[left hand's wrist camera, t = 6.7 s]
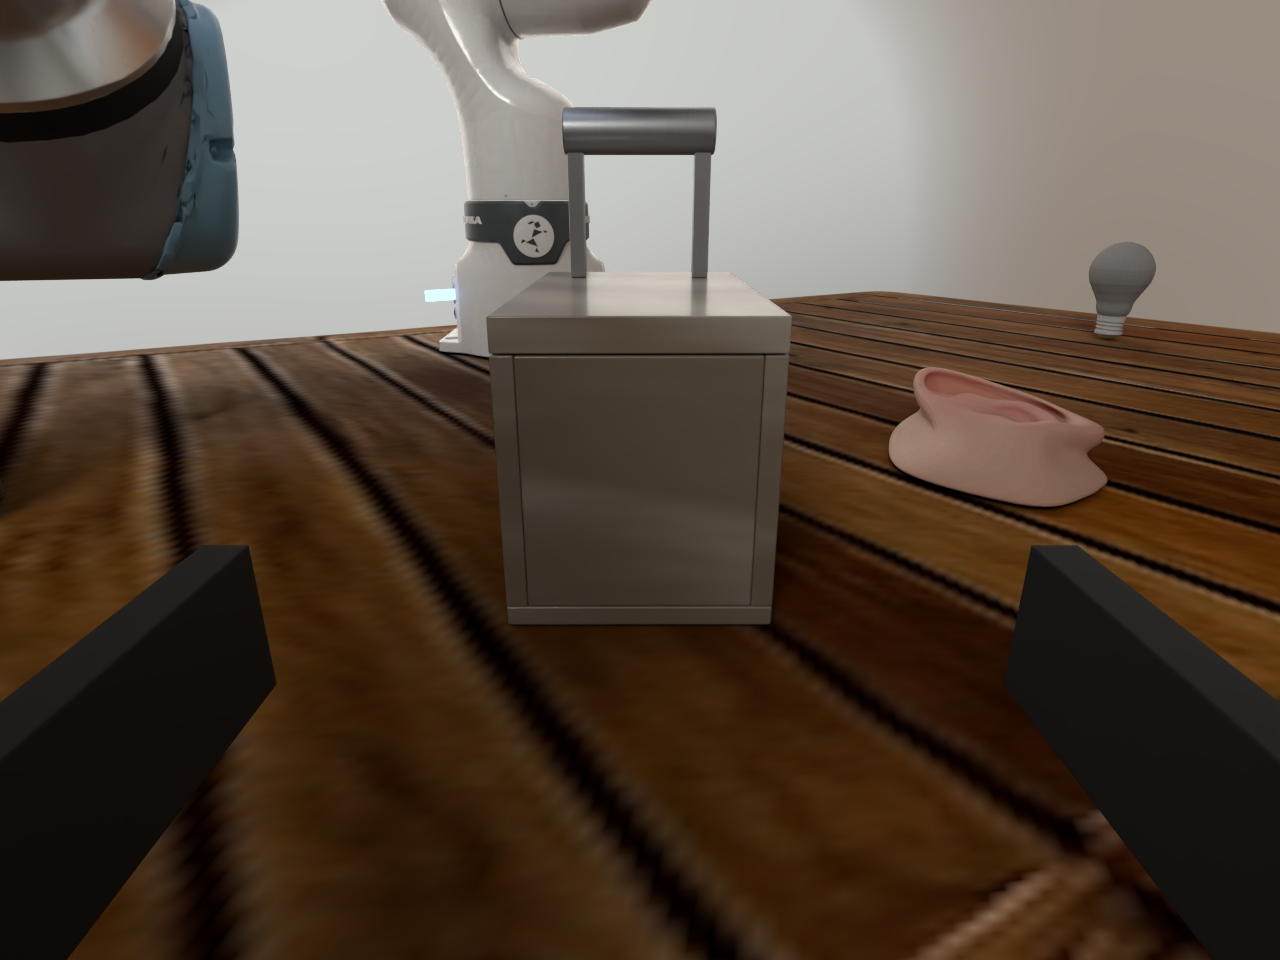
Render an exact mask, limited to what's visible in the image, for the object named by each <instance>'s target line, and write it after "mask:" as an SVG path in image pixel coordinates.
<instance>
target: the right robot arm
mask: <svg viewBox="0 0 1280 960" xmlns="http://www.w3.org/2000/svg"><path fill="white" fill-rule="evenodd" d="M380 1H381V2H382V4H383V6H384V8H385V9H386V11H387V12H388V14H389V15H390V16H391V18H392V19H393V20H394V21H395V22H396V23H397V24H398V25H399V26H400V27H401V28H402V29H403V30H404V31H405V32H407V33H408V34H409V35H411V36H412V37H413V38H414V39H415V40H416V41H417V42H418V43H420V45H421V46H422V47H423V48H424V49H425V50H426V51H427V53H428V54H429V55H430V56H431V58H432V59H433V61H434V62H435V63H436V65H437V67H438V68H439V70H440V72H441V73H442V75H443V77H444V79H445V81H446V83H447V85H448V88H449V90H450V92H451V95H452V97H453V101H454V103H455V107H456V110H457V114H458V119H459V124H460V131H461V137H462V144H463V152H464V160H465V169H466V179H467V191H468V200H473V201H466V202H465V203H464V212H465V216H464V223H465V231H466V238H467V239H468V240H469V241H470V243H469V246H468V248H467V250H466V252H465V254H464V255H463V256H462V257H461V258H460V259H459V260H458V263H456V264H455V265H454V276H452V286H453V289H444V290H428V291H425V299H426V301H442V300H454V303H455V304H456V306H455V309H454V315H455V318H456V319H457V328H456V329H455V330H453V331H452V332H451V333H449V334H448V335H447V336H445V337H444V338H443V339H441V340H440V341H439V351H443V352H455V353H467V354H472V355H477V356H484V357H489V356H490V355H491V354H490V353H489V352H488V339H487V325H486V316H488V315H489V314H491V313H492V312H493V311H495V310H496V309H498V308H499V307H500V306H502V305H503V304H505V303H506V302H507V301H509V300H510V299H512V298H513V297H514V296H516V295H517V294H519V293H520V292H522V291H523V290H524V289H526V288H527V287H529V286H530V285H531V284H533V283H534V282H536V281H537V280H538V279H540V278H541V277H543V276H544V275H546V274H547V273H548V272H571V258H570V227H569V195H568V163H567V155H566V154H565V153H564V150H563V143H562V110H563V108H564V107H574V106H573V105H572V104H571V102H570V101H569V100H568V99H567V98H566V97H565V96H563V95H562V94H561V93H559V92H558V91H556V90H555V89H553V88H551V87H550V86H548V85H546V84H545V83H543V82H541V81H539V80H537V79H535V78H533V77H531V76H529V75H527V74H526V73H525V72H524V70H523V67H522V65H521V62H520V57H519V51H518V40H520V39H524V38H532V37H557V36H583V35H593V34H597V33H601V32H605V31H608V30H612V29H616V28H619V27H622V26H625V25H629V24H632V23H635V22H638V21H639V20H640V19H641V17H642V16H643V15H644V14H645V12H646V11H647V9H648V7H649V6H650V4H651V2H652V0H380ZM585 215H586V240H587V239H588V238H589V223H590V218H589V216H588V204H587V203H586V202H585ZM586 256H587V272H605V270H604V264H603V262H601V261H600V260H599V258H598V257H596V256H595V255H594V254H593V253H592V252H591V250H590V249H589V247H588V245H587V243H586Z"/></svg>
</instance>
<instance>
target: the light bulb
mask: <svg viewBox="0 0 1280 960" xmlns="http://www.w3.org/2000/svg"><path fill="white" fill-rule="evenodd" d="M1155 271H1156V264H1155V260H1154V258H1153V256H1152V254H1151V253H1150V252H1149V250H1148V249H1146V248H1145V247H1144V246H1142V245H1140V244H1136V243H1133V242H1122V243H1117V244H1114V245H1111V246H1109V247H1107V248H1106V249H1104V250H1103V251H1102V252H1101V253H1099V254H1098V255H1097V256H1096V258H1095V259H1094V260H1093V262H1092V264H1091V266H1090V270H1089V281H1090V284H1091V287H1092V290H1093V292H1094V295H1095V298H1096V302H1097V303H1096V310H1097V313H1098V315H1097V316H1098V317H1097V320H1099V321H1097V322H1096V323H1098V325H1096V327H1097V328H1096V329H1095V331H1094V332H1095V333H1096V334H1098V335H1100V336H1101V337H1104V338H1114V337H1116V336H1119V335H1121V334H1122V332H1121V330H1123V329H1122V326H1124V325H1122V324H1123V323H1124V322H1125V319H1126V316H1127V315H1128V314H1129V313H1130V311H1131V309H1132V306H1133V304H1134V302H1135V301H1136V299H1137V298H1138V297H1139V296H1140V295H1141V293H1143V291H1144V290H1145V289H1146V288H1147V287H1148V286H1149V284H1150V283H1151V281H1152V279H1153V277H1154V275H1155Z"/></svg>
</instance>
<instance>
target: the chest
mask: <svg viewBox="0 0 1280 960" xmlns="http://www.w3.org/2000/svg"><path fill="white" fill-rule="evenodd" d="M489 366H490V380H491V394H492V408H493V422H494V436H495V450H496V464H497V478H498V492H499V506H500V520H501V534H502V548H503V562H504V576H505V590H506V604H507V616H508V623H509V624H510V625H676V624H770V623H771V612H772V607H771V606H772V599H773V585H774V570H775V556H776V542H777V527H778V513H779V499H780V485H781V470H782V456H783V442H784V427H785V413H786V399H787V384H788V370H789V355H788V354H491V355H490V356H489Z"/></svg>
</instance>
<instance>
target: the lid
mask: <svg viewBox="0 0 1280 960" xmlns="http://www.w3.org/2000/svg"><path fill="white" fill-rule="evenodd" d="M716 128H717V117H716V109H715V108H714V107H564V108H563V110H562V143H563V150H564V153H565V154H566V155H567V163H568V195H569V227H570V258H571V272H548V273H547V274H546V275H544V276H543V277H541V278H540V279H538V280H537V281H536V282H534V283H533V284H531V285H530V286H529V287H527V288H526V289H524V290H523V291H522V292H520V293H519V294H517V295H516V296H514V297H513V298H512V299H510V300H509V301H507V302H506V303H505V304H503V305H502V306H500V307H499V308H498V309H496V310H495V311H493V312H492V313H491V314H489V315H488V316H486V325H487V339H488V352H489V353H490V354H788V353H789V352H790V342H791V328H792V316H791V315H789V314H788V313H787V312H785V311H784V310H782V309H781V308H780V307H778V306H777V305H775V304H774V303H772V302H771V301H770V300H768V299H767V298H765V297H764V296H763V295H761V294H760V293H758V292H757V291H755V290H754V289H753V288H751V287H750V286H748V285H747V284H746V283H744V282H743V281H741V280H740V279H739V278H737V277H736V276H734V275H733V274H732V273H730V272H708V238H709V206H710V172H711V155H712V154H714V151H715V144H716ZM584 155H694V183H693V226H692V270H691V272H587V256H586V215H585V176H584V175H585V174H584Z"/></svg>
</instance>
